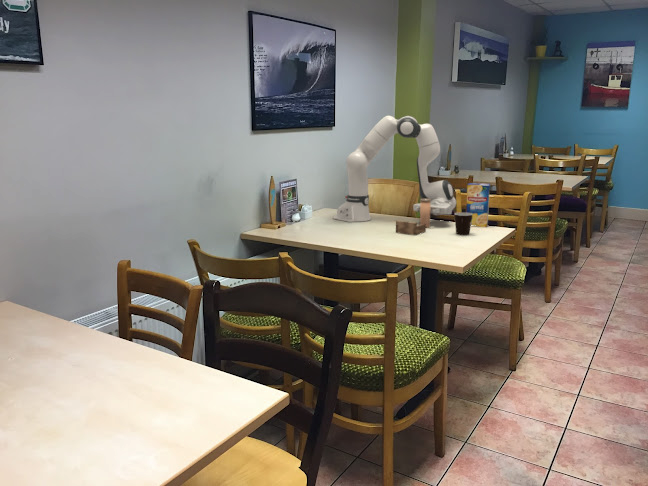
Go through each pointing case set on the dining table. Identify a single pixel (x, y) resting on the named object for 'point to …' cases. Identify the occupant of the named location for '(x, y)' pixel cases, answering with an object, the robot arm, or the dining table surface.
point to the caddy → (409, 228)
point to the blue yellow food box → (478, 203)
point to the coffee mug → (463, 223)
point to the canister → (425, 211)
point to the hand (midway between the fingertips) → (424, 210)
